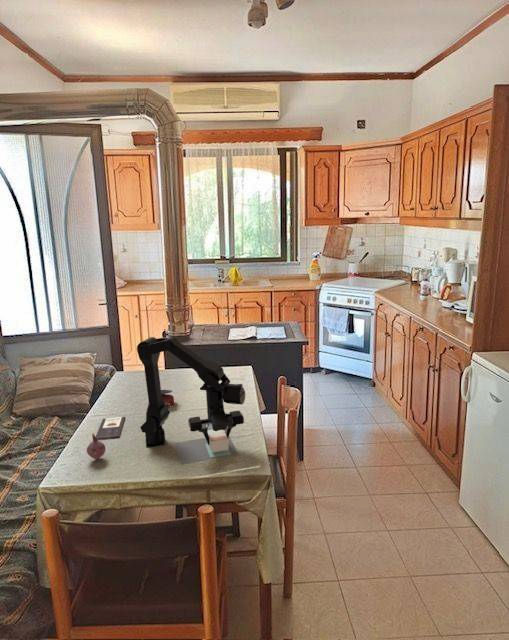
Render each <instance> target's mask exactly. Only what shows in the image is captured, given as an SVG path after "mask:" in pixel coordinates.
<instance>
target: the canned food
mask: <svg viewBox="0 0 509 640" xmlns="http://www.w3.org/2000/svg"><path fill="white" fill-rule="evenodd" d="M172 392H173V390H170V389H161V394H162V400H163V402H164V403H165V404H169V408H171V407H173V406H174V405H175V397H174V395H172V394H170V393H172ZM172 405H173V406H172ZM170 406H171V407H170Z"/></svg>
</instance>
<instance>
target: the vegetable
mask: <svg viewBox="0 0 509 640" xmlns="http://www.w3.org/2000/svg"><path fill="white" fill-rule="evenodd" d="M91 438H92V441H91V442H90V443H89V444H88V446H87V448H86V453H87V455H88V456H89V457H91V458H93V459H94V460H99V459H101V457H103V456H105V455H104V454H105V453H106V450H107V449H106V446H105V444H104V443H103V442H102V441H100V440H97V439H96V435H95V433H92V437H91Z"/></svg>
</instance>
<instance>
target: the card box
mask: <svg viewBox="0 0 509 640" xmlns="http://www.w3.org/2000/svg"><path fill="white" fill-rule="evenodd" d="M208 437H209V447H210V450H211V452H212V453H213V452H219V451H225V450H229V445H228V438H227V436H226V434H225V430H218V431H214V430H208Z"/></svg>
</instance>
